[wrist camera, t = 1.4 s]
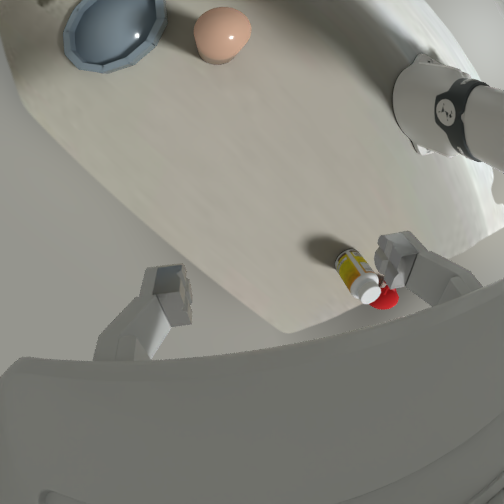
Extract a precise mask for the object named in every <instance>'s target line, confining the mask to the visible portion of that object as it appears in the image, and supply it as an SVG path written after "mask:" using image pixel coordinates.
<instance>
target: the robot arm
mask: <svg viewBox="0 0 504 504" xmlns="http://www.w3.org/2000/svg"><path fill="white" fill-rule="evenodd" d="M393 108H394V113H395V117H396V120H397V122H398V124H399V126H400V128H401V129H402V131H403V132H404V133H405V134H406V135H407V136H408V137H409V138H410V139H411V141H412V142H413V145H414V147H415V149H416V151H417V153H418V154H420V155H427V154H431V153H435V152H436V153H439V154H441V155H444V156H446V157H449V158H451V157H452V156H457V155H459V154H462V155H463V156H465V157H466V158H468V159H471V160H474V161H477V162H484V163H486V164H488V165H490V166H491V167H493V168H495V169H497V170H498V171H500V172H502V173H503V174H504V90H500V89H497V88H493V87H490V86H489V85H487V84H486V83H484V82H481V81H479V80H475V79H471V76H470V75H469V74H467V73H464V72H461V70H460V69H457V68H454V67H451V66H445V65H443V64H441V63H439V62H438V61H436V60H434V59H433V58H431V57H429V56H427V55H425V54H418V55H417V57H416V58H415V60H414V62H413V64H412V65H410V66H409V67H407V68H406V69H404V70H403V71H402V72H401V74H400V75H399V76H398V78H397V80H396V83H395V86H394V91H393ZM378 245H379V248H378V249H377V250H376V252H375V256H374V261H375V266H376V268H377V270H378V272H380V273H381V274H383V275H384V281H385V282H386V284H387V285H388V287H389V288H390V289H395V288H400V287H404V286H406V288H407V289H409V290H410V291H412V292H413V293H414V294H416V295H417V296H418V297H420V298H421V299H423V300H424V301H425V302H427V303H428V304H430V305H431V306H432V307H431V308H428V309H425V310H422V311H419V312H416V313H413V314H409V315H406V316H404V317H400V318H396V319H393V320H390V321H386V322H383V323H380V324H376V325H372V326H369V327H365V328H361V329H357V330H353V331H349V332H345V333H341V334H337V335H332V336H328V337H323V338H319V339H314V340H310V341H305V342H300V343H294V344H288V345H283V346H277V347H272V348H265V349H259V350H252V351H245V352H238V353H230V354H222V355H213V356H203V357H193V358H181V359H166V360H151V358H152V357H153V355H154V354H155V352H156V351H157V349H158V347H159V346H160V344H161V343H162V341H163V340H164V338H165V337H166V335H167V334H168V332H169V331H170V329H171V327H174V326H182V325H190V324H192V309H191V307H190V305H191V303H192V289H191V284H190V281H189V279H188V278H186V272H187V271H186V268H185V265H184V264H183V263H181V264H172V265H163V266H156V267H148V268H147V269H146V270H145V274H144V278H143V282H142V286H141V290H140V295H139V297H136V298H134V300H132V302H131V303H130V304H129V305H128V306H127V307H126V308H125V309H124V310H123V311H122V312H121V313H120V314H119V315H118V316H117V317H116V318H115V319H114V320H113V321H112V322H111V323H110V324H109V325H108V327H107V328H106V329H105V330H104V331H103V332H102V333H101V334H100V335H99V337H98V341H97V345H96V349H95V353H94V357H93V361H74V360H55V359H42V358H34V357H21V358H19V359H18V360H17V361H15V362H14V363H13V364H12V365H11V366H10V367H9V368H8V369H7V371H5V372H4V374H3V375H2V376H1V377H0V504H504V278H503V279H500V280H498V281H496V282H494V283H491V284H489V285H487V286H485V287H483V286H482V285H481V284H480V282H479V281H478V280H477V279H476V278H475V276H474V275H473V274H472V273H471V271H469V270H467V269H465V268H463V267H461V266H460V265H458V264H456V263H454V262H452V261H450V260H448V259H446V258H444V257H442V256H440V255H438V254H436V253H434V252H432V251H428V250H427V249H426V248H425V247H424V246H423V245H422V244H421V242H420V241H419V240H418V239H417V238H416V237H415V236H414V235H413V234H412V233H411V232H410V231H403V232H399V233H393V234H386V235H381V236H380V237H379V239H378Z"/></svg>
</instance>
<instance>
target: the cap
mask: <svg viewBox="0 0 504 504" xmlns="http://www.w3.org/2000/svg"><path fill="white" fill-rule="evenodd" d="M384 282H385V281H384ZM385 283H386V282H385ZM380 289H381V293H380V295H379V297H378V298H377V299H376V300H375V301H373V302H372V303H369V304H370V305H371V306H372V307H374V308H377V309H389V308H392V307H393V306H395V305H396V304H397V302H398V299H399V297H398V294H397V292H396V288H395V289H390V288H389V287H388V285H386V286H385V288H380Z"/></svg>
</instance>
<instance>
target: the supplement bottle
mask: <svg viewBox="0 0 504 504" xmlns="http://www.w3.org/2000/svg"><path fill="white" fill-rule="evenodd" d="M335 267H336V270H337V272H338V273H339V275H340V276H341V278H342V280H343V281H344V283H345V285H346V286H347V288H348V289H349V291H350V293H351V294H352V296H353V297H355V298H358V299H360V300H361V302H362V303H364V304H369V303H372V302H373V301H375V300H376V299H377V298H378V297H379V295H380V293H381V289H380V287H379V286H378V283H379V280H378V277H377V275H376V274H375V272H374V271H373V270H372V268H371V267H370V266H369V265H368V263H367V262H366V261H365V259H364V258H363V257H362V256H361V254H360V253H359V252H358V251H356V250H353V249H350V250H346V251H344V252H343V253H341V254H340V255H339V256H338V258H337V259H336V262H335Z"/></svg>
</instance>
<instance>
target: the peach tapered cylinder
mask: <svg viewBox="0 0 504 504" xmlns="http://www.w3.org/2000/svg"><path fill="white" fill-rule="evenodd" d="M250 35H251V24H250V22H249V20H248V18H247V17H246V16H245V15H244V14H243V13H242V12H240V11H238V10H236V9H233V8H229V7H219V8H214V9H211V10H209V11H207V12H205V13H204V14H202V15H201V16H200V17H199V19H198V20H197V21H196V24H195V26H194V37H195V41H196V45H197V49H198V53H199V55H200V57H201V58H202V59H203V60H204V61H205V62H207V63H209V64H213V65H221V64H225V63H228V62H229V61H231V60H232V59H233V58H234V57H235V56H236V55H237V54H238V52H239V51H240V50H241V49H242V48H243V46H244V45H245V44H246V43H247V42H248V40H249V38H250Z"/></svg>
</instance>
